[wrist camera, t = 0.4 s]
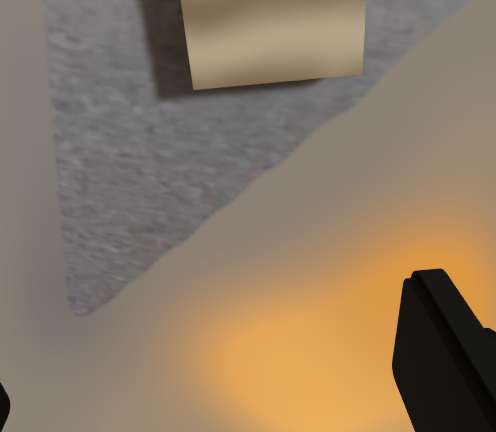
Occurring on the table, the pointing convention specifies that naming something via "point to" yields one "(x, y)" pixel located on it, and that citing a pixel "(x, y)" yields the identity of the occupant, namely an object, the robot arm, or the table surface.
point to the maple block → (272, 40)
